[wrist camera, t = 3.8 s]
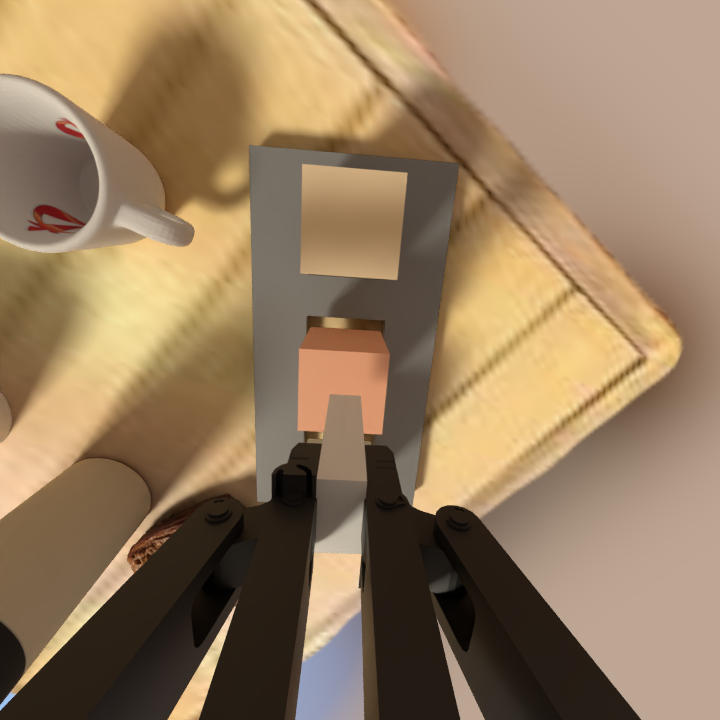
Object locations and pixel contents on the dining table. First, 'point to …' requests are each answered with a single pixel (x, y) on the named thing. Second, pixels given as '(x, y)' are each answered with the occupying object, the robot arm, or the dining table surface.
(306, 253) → the oak block
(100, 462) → the travel mug
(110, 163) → the cup
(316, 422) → the terracotta block
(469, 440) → the dining table surface
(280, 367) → the board
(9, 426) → the white cylindrical canister
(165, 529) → the pastry
